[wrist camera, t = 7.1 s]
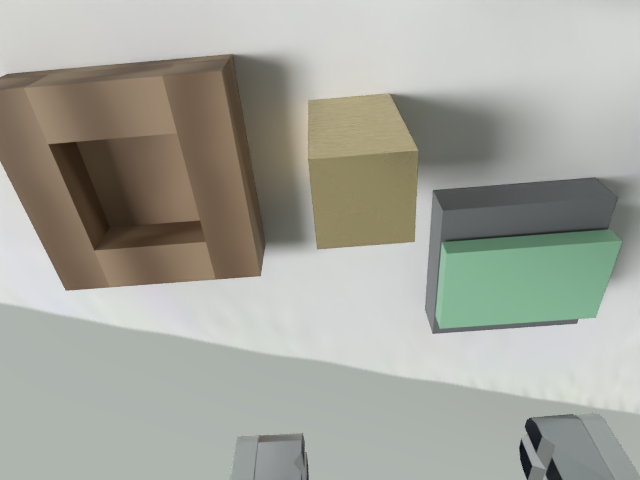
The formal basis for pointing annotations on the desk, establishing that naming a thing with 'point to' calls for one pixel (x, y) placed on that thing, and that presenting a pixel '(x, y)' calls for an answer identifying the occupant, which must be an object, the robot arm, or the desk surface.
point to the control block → (512, 223)
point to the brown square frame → (134, 171)
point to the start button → (524, 278)
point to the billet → (361, 172)
